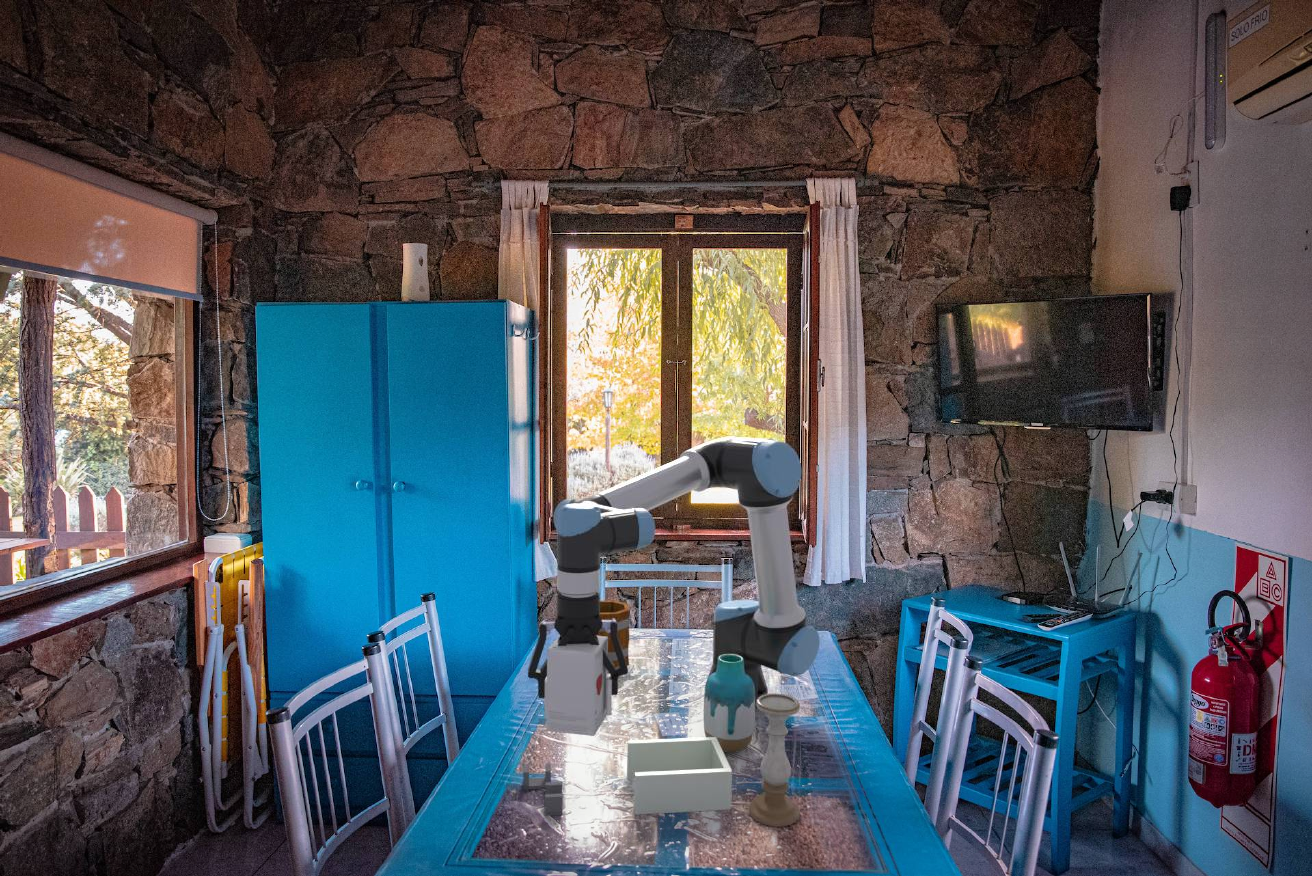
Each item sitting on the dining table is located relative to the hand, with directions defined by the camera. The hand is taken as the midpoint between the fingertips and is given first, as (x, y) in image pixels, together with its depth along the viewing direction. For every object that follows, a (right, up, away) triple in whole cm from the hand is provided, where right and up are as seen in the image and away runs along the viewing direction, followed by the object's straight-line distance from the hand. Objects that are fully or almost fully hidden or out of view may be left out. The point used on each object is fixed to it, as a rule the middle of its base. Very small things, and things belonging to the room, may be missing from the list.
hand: (578, 713), depth 139 cm
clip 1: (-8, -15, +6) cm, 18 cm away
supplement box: (0, -2, 0) cm, 2 cm away
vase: (+29, -15, +22) cm, 39 cm away
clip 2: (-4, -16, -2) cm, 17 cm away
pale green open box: (+18, -16, +4) cm, 24 cm away
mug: (-1, -11, +67) cm, 68 cm away
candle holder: (+35, -17, -2) cm, 39 cm away
